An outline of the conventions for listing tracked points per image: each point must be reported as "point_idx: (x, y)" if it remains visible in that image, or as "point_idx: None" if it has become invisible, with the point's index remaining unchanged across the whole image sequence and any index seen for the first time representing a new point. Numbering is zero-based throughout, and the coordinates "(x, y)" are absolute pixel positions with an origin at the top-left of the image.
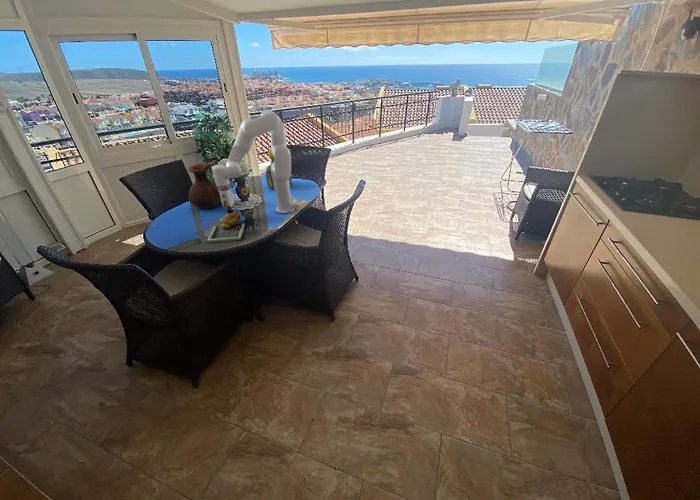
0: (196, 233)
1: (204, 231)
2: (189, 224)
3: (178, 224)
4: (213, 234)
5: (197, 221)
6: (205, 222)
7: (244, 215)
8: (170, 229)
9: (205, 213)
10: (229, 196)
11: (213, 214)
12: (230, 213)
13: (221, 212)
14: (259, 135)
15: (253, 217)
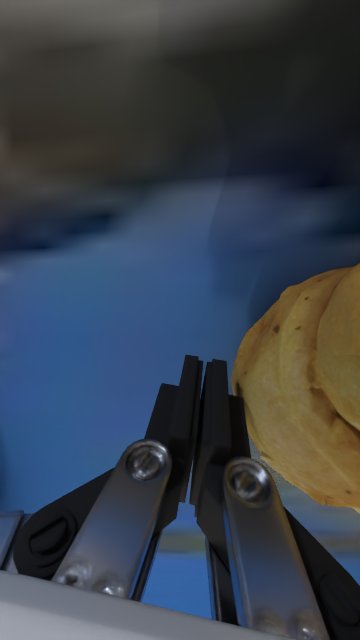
0: (349, 561)
1: (346, 529)
2: (183, 571)
3: (166, 598)
4: None
5: None
6: (182, 516)
7: (106, 203)
8: None
9: (34, 507)
10: None
11: (52, 473)
12: (322, 447)
13: (16, 429)
14: None
15: (219, 6)
